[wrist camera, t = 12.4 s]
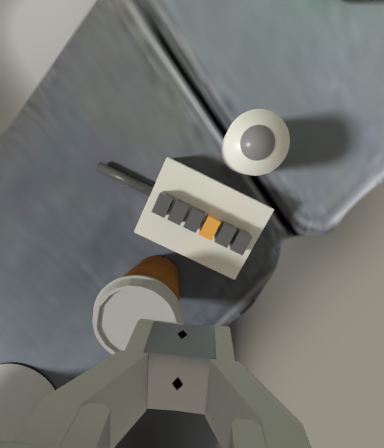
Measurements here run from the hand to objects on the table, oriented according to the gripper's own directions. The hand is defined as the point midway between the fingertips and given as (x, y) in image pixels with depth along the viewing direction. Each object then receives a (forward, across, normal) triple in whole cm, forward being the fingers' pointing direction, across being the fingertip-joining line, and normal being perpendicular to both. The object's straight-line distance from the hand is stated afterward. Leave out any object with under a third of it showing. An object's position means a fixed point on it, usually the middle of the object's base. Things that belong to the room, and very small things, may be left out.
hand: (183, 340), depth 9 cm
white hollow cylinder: (+27, -5, -8) cm, 29 cm away
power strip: (+27, +3, -1) cm, 27 cm away
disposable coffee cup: (+28, +6, +10) cm, 30 cm away
